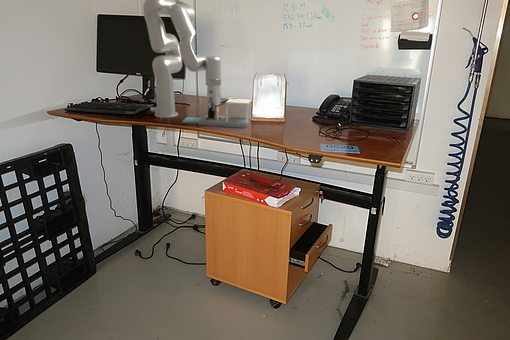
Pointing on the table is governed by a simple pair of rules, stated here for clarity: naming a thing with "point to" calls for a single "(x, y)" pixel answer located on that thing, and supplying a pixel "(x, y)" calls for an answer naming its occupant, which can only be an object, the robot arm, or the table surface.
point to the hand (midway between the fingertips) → (213, 116)
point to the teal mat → (191, 120)
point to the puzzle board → (222, 122)
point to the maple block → (215, 113)
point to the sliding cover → (239, 108)
